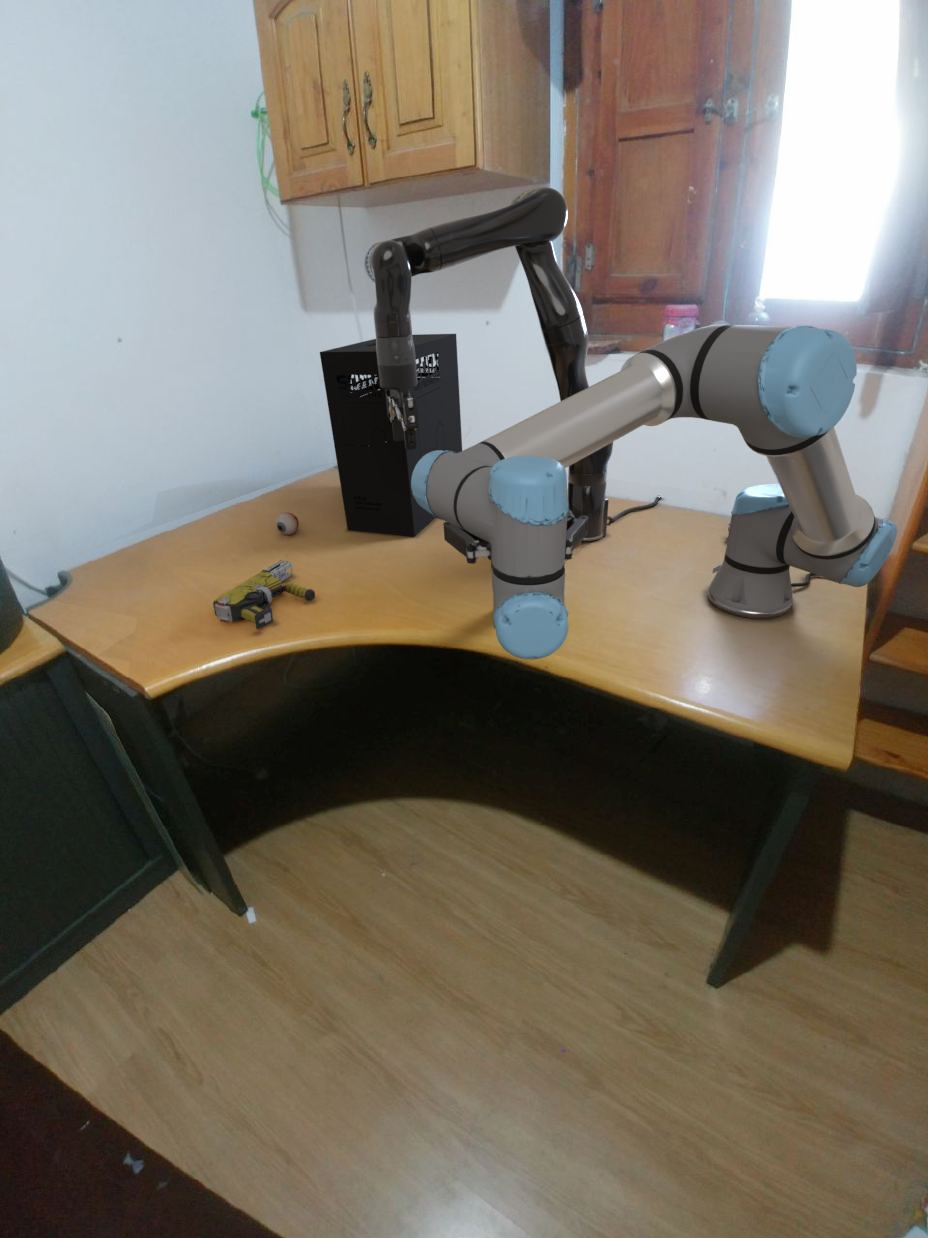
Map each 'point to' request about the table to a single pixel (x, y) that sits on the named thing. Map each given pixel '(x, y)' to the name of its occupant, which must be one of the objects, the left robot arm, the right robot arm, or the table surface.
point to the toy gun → (258, 596)
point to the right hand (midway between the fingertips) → (512, 509)
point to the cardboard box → (389, 431)
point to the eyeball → (287, 523)
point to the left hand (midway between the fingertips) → (404, 444)
